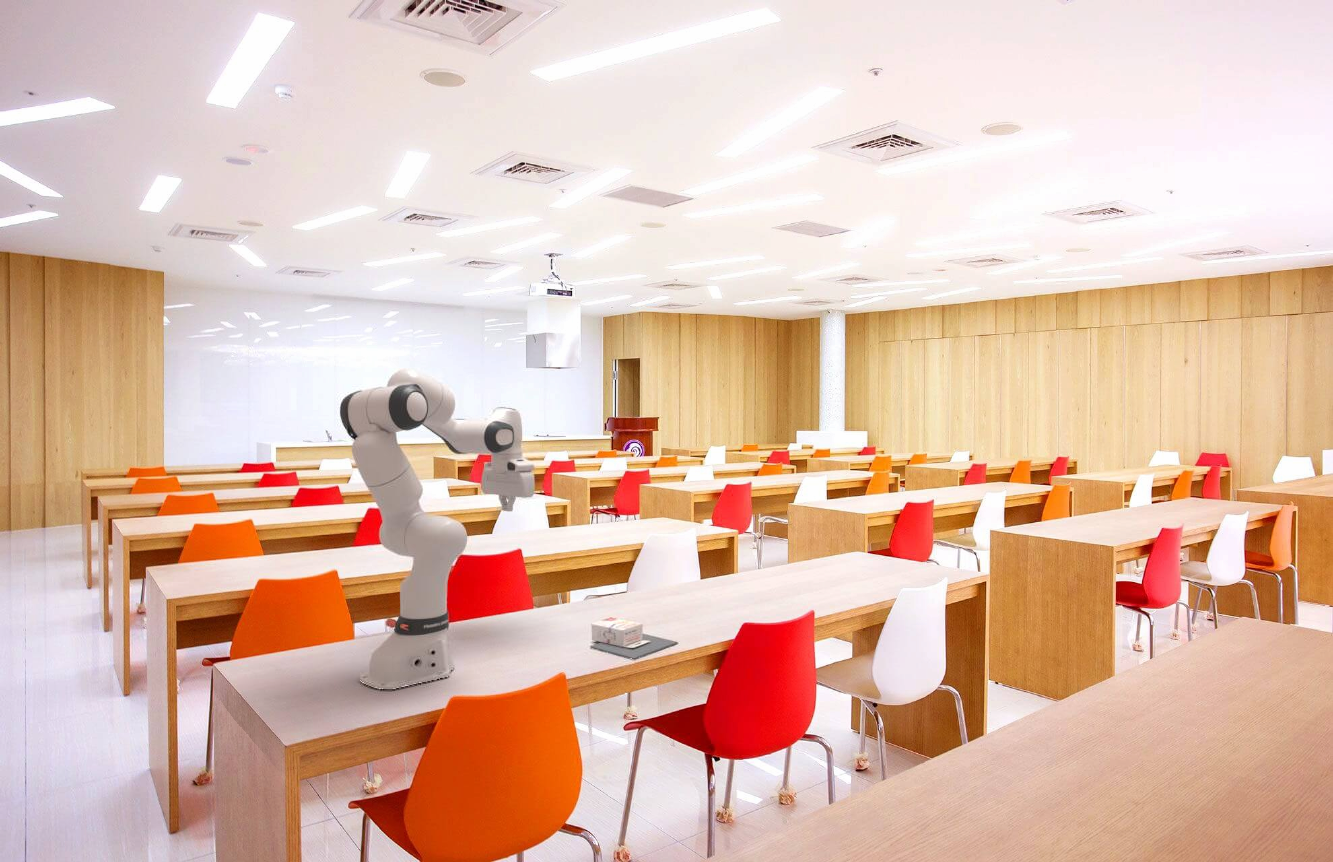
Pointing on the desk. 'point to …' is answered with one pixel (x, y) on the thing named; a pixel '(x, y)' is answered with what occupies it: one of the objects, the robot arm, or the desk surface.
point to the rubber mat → (638, 651)
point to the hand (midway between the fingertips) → (507, 511)
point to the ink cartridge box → (618, 632)
